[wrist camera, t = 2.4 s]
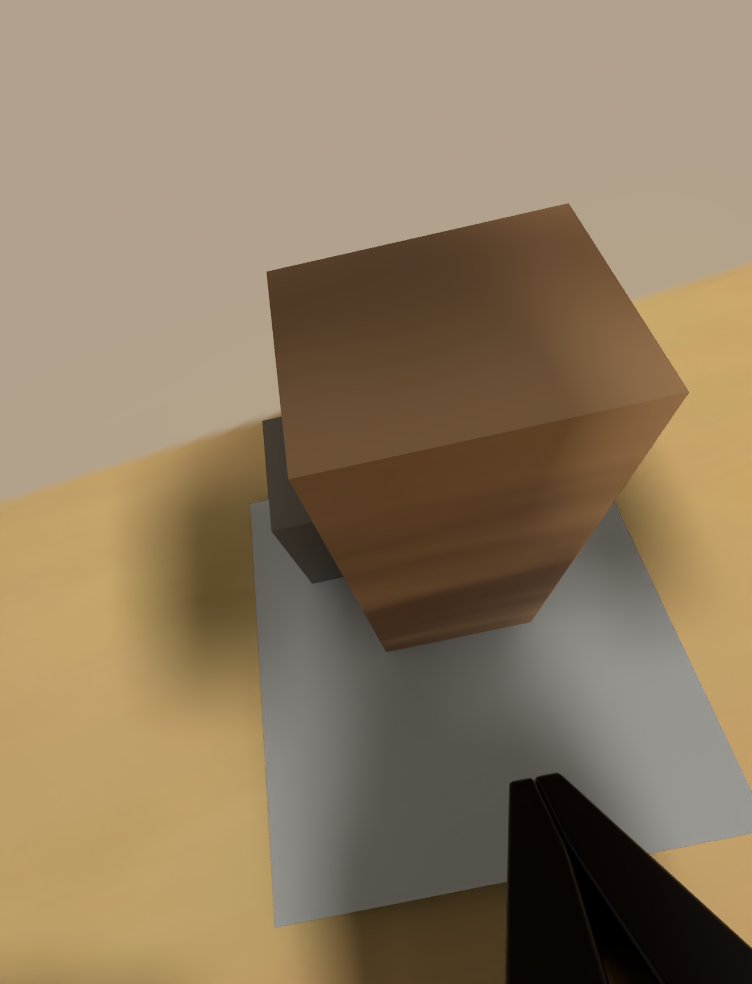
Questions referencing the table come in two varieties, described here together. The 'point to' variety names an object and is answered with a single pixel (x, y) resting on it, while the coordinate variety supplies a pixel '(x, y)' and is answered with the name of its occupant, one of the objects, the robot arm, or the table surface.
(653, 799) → the grey stand
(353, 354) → the tall wooden post
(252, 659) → the table surface
